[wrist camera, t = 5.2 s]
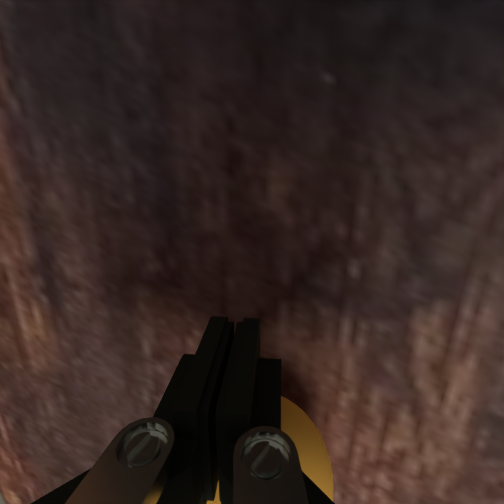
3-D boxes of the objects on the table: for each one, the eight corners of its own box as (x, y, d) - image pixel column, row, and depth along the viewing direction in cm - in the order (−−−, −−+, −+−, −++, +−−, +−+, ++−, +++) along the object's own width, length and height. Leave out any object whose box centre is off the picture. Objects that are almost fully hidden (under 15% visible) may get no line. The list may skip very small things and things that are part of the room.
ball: (130, 516, 8) (164, 600, 10) (356, 550, 7) (334, 632, 10) (194, 354, 13) (207, 437, 15) (331, 364, 12) (321, 450, 14)
